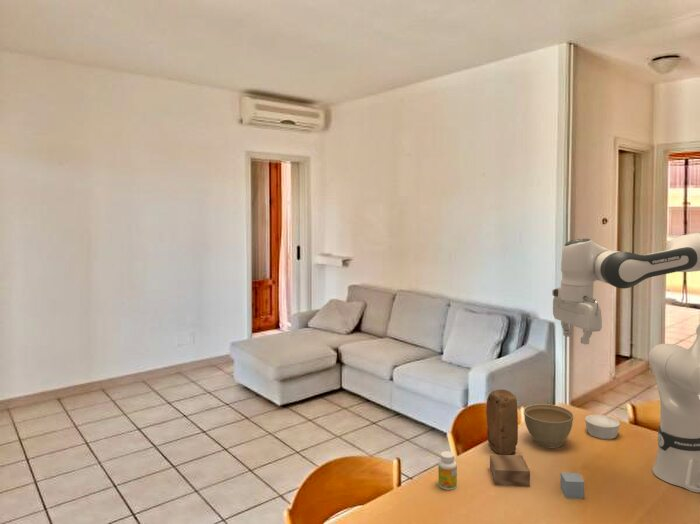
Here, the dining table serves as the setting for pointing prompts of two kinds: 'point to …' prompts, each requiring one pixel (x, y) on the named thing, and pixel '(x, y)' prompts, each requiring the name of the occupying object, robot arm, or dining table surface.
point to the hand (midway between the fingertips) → (575, 339)
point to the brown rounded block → (502, 421)
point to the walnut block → (509, 470)
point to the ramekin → (602, 426)
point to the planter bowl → (548, 424)
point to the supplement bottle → (447, 471)
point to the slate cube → (572, 485)
